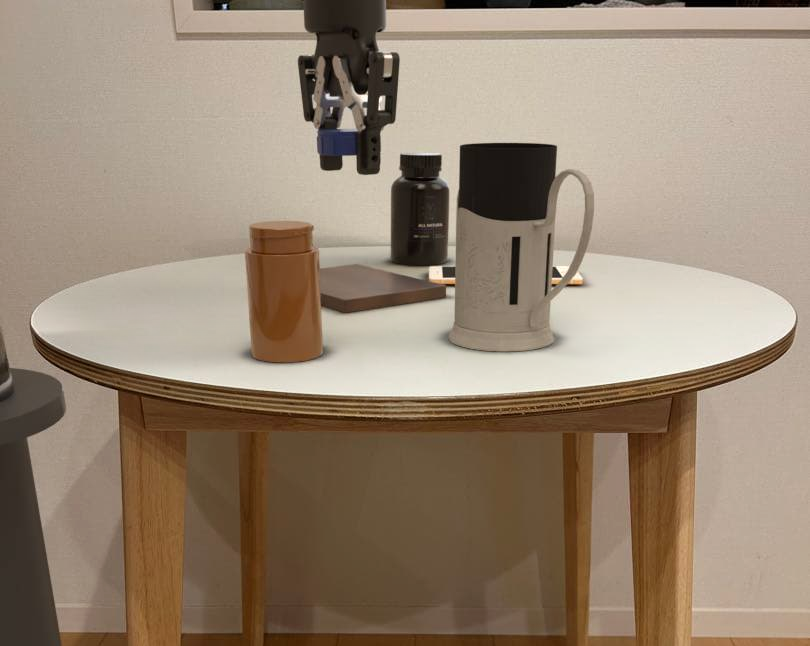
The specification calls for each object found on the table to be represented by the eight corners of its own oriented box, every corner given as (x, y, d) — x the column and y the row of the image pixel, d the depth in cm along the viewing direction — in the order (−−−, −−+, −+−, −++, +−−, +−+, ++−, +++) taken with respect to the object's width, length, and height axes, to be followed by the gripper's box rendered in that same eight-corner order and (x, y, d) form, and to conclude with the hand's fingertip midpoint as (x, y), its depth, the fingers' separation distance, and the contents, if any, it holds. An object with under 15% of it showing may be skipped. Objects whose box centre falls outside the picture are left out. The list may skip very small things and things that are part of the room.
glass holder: (510, 322, 90) (517, 141, 83) (622, 356, 79) (640, 150, 72) (428, 334, 85) (429, 144, 79) (535, 372, 74) (546, 155, 68)
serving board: (345, 313, 93) (344, 299, 93) (261, 287, 105) (260, 275, 105) (446, 297, 100) (446, 285, 99) (356, 274, 112) (356, 263, 111)
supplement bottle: (429, 268, 116) (430, 156, 111) (379, 263, 119) (378, 154, 114) (458, 259, 121) (460, 152, 116) (410, 255, 124) (410, 150, 119)
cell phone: (583, 284, 105) (583, 278, 105) (428, 284, 105) (428, 278, 105) (573, 271, 112) (573, 266, 112) (428, 271, 112) (428, 265, 112)
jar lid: (369, 150, 100) (368, 128, 100) (388, 154, 95) (388, 130, 95) (311, 152, 99) (310, 129, 98) (328, 156, 94) (326, 132, 93)
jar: (274, 366, 76) (266, 232, 72) (239, 352, 80) (229, 223, 76) (336, 355, 79) (332, 225, 75) (299, 341, 83) (293, 218, 79)
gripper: (425, -31, 87) (425, 175, 94) (335, -18, 98) (341, 166, 105) (353, -35, 83) (358, 180, 90) (268, -22, 94) (278, 169, 101)
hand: (349, 171), depth 98 cm, fingers closed on jar lid, 6 cm apart
